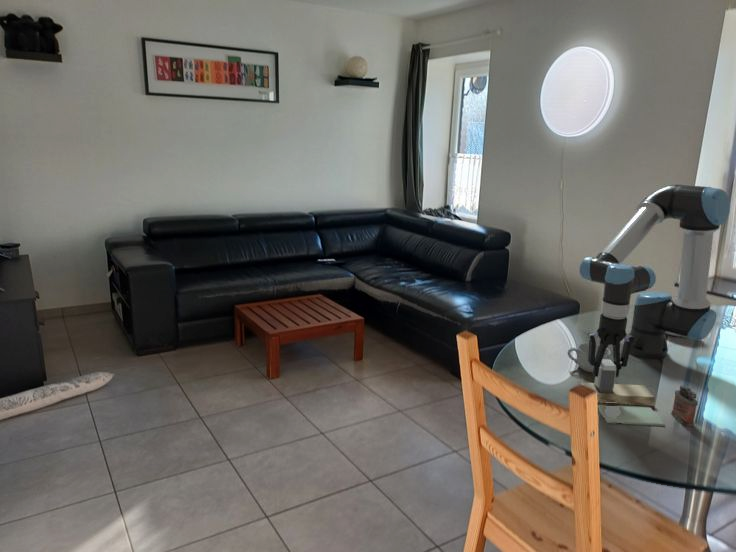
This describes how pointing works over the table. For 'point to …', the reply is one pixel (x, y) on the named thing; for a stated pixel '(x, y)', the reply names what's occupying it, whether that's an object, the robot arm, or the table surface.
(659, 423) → the mat
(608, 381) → the gray rectangular block
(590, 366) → the teacup
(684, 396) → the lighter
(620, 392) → the block
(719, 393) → the table surface
